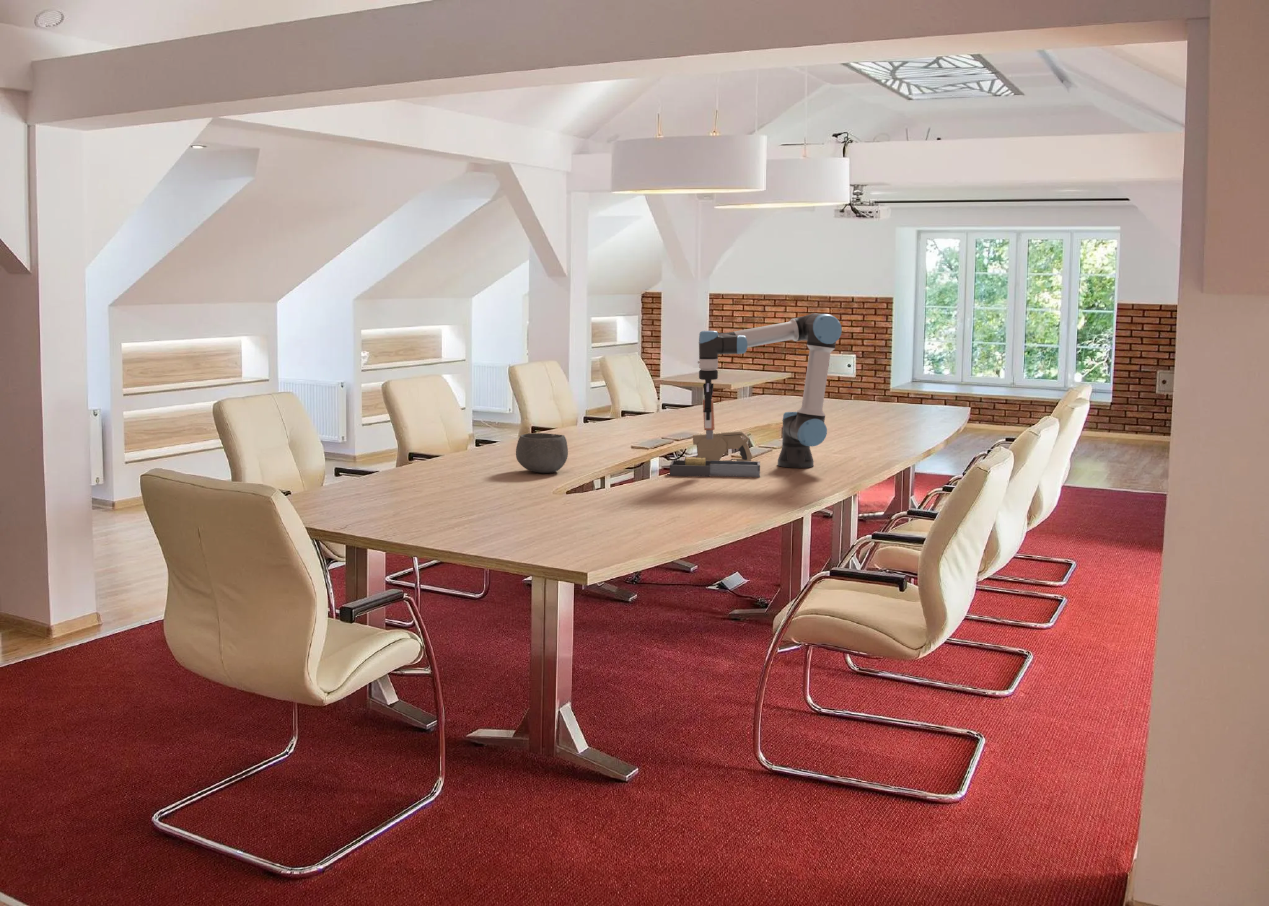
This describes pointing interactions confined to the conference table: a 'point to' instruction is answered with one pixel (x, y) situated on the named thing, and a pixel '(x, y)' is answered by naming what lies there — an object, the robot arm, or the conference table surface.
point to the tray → (689, 469)
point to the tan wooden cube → (690, 461)
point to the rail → (735, 468)
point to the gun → (722, 445)
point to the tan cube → (700, 461)
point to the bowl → (542, 452)
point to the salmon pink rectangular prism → (710, 430)
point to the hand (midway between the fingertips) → (708, 427)
